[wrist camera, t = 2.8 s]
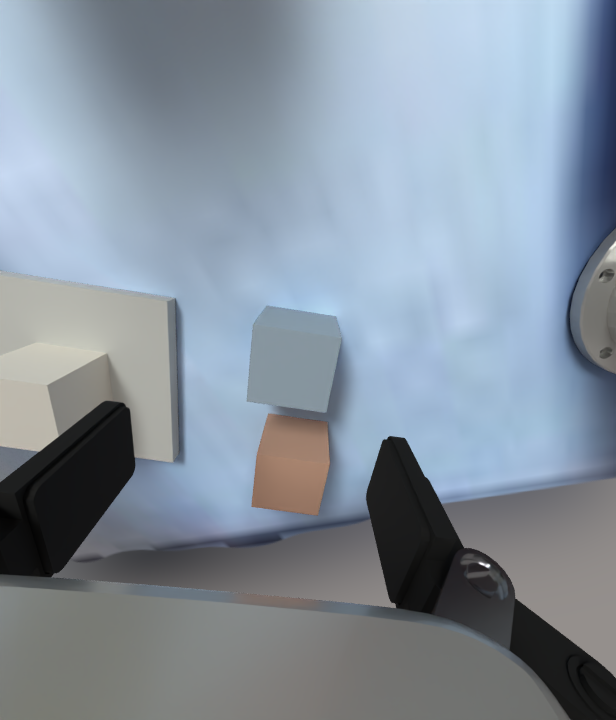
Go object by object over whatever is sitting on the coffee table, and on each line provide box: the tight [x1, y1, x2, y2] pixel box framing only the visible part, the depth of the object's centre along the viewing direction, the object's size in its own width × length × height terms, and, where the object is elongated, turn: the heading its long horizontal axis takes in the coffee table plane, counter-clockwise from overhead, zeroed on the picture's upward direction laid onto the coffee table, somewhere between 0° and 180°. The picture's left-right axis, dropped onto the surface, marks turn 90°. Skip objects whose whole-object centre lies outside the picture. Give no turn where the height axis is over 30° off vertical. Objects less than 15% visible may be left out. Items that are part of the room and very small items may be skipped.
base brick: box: [0, 342, 113, 451], centre depth 19 cm, size 5×5×5 cm
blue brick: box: [247, 306, 342, 413], centre depth 19 cm, size 5×5×5 cm
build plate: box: [0, 271, 179, 463], centre depth 22 cm, size 14×14×1 cm
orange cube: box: [251, 414, 330, 516], centre depth 23 cm, size 5×5×5 cm
